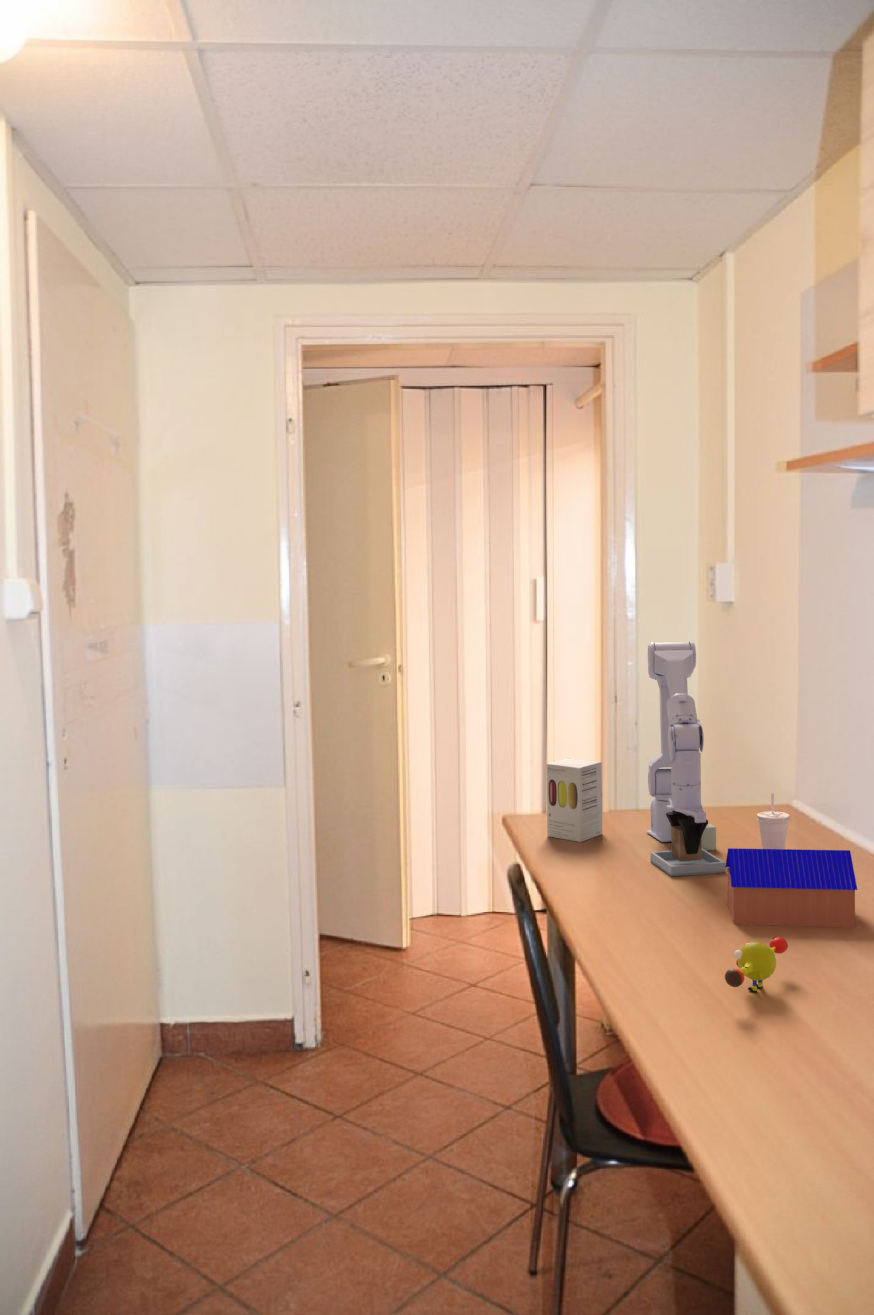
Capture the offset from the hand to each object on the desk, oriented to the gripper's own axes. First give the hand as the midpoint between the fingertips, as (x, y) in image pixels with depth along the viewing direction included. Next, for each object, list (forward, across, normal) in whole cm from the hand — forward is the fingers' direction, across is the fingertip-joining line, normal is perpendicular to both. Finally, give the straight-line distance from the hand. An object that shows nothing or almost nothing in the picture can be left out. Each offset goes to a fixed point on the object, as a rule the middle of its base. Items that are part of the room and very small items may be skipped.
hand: (686, 850), depth 213 cm
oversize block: (+4, -14, +8) cm, 17 cm away
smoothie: (+4, +1, +18) cm, 18 cm away
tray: (+3, 0, 0) cm, 3 cm away
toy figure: (+4, +61, -15) cm, 63 cm away
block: (+2, 0, 0) cm, 2 cm away
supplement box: (+4, -31, -14) cm, 34 cm away
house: (+4, +32, +5) cm, 33 cm away
